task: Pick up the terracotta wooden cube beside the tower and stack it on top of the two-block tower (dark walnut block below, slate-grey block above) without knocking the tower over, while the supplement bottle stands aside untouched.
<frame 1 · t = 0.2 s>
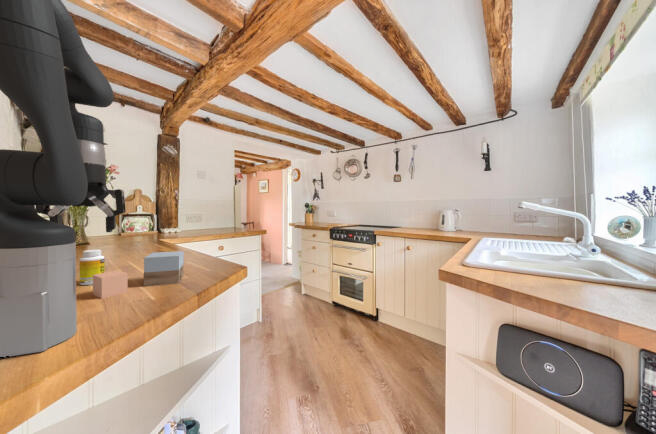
hand: (85, 232, 54), 18 cm above the countertop, tool pointing down, fingers open, 8 cm apart
supplement bottle: (92, 283, 73), on the countertop
lower block: (165, 281, 76), on the countertop, touching upper block
terracotta cube: (110, 293, 64), on the countertop
upper block: (165, 267, 76), point 4 cm above the countertop, touching lower block
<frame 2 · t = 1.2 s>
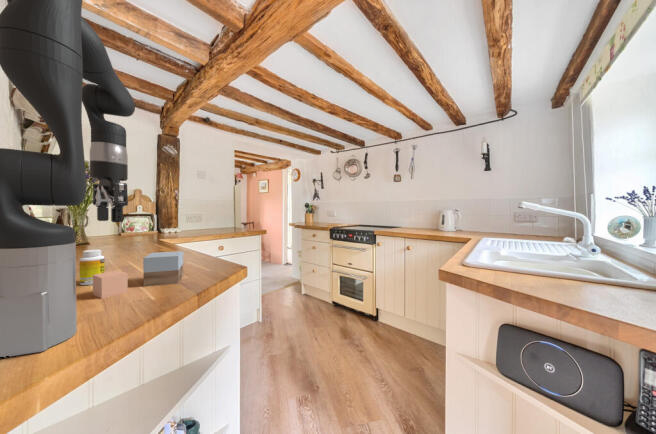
hand: (109, 221, 64), 20 cm above the countertop, tool pointing down, fingers open, 8 cm apart
nothing on the countertop moved.
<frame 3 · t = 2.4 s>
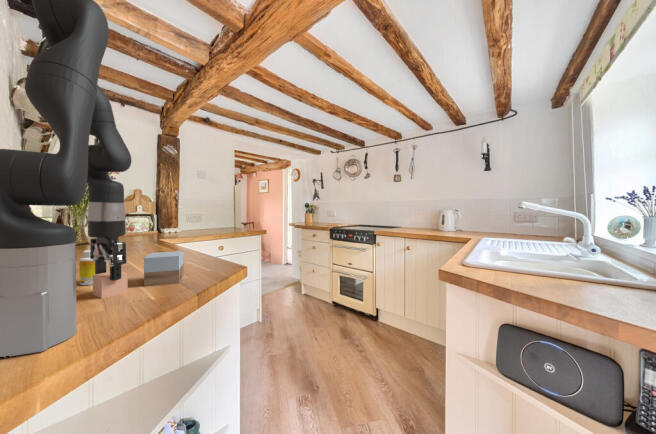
hand: (108, 277, 64), 4 cm above the countertop, tool pointing down, fingers open, 8 cm apart
lower block: (165, 281, 76), on the countertop
upper block: (165, 267, 76), point 4 cm above the countertop
everything else where it was.
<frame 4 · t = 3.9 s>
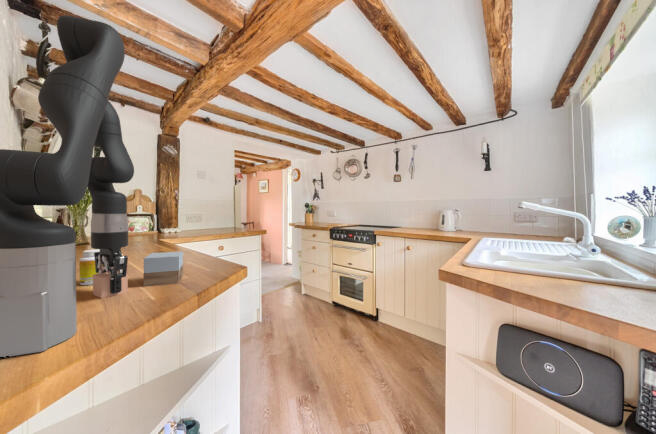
hand: (110, 290, 64), 1 cm above the countertop, tool pointing down, fingers closed on terracotta cube, 5 cm apart
lower block: (164, 281, 76), on the countertop, touching upper block
terracotta cube: (110, 293, 64), on the countertop, touching gripper
upper block: (164, 268, 76), point 4 cm above the countertop, touching lower block
everything else where it was.
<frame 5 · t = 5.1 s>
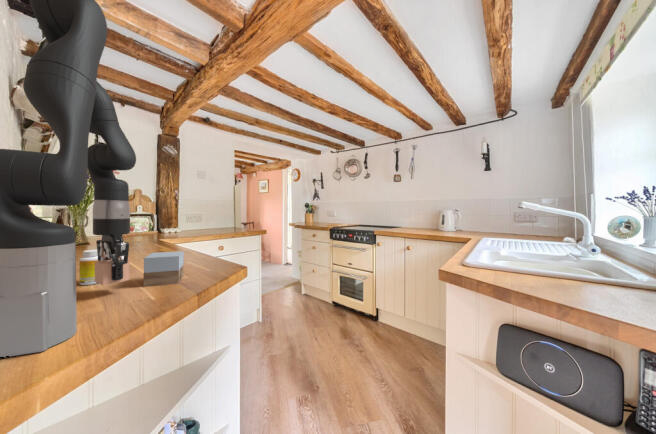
hand: (112, 278, 64), 4 cm above the countertop, tool pointing down, fingers closed on terracotta cube, 5 cm apart
lower block: (165, 281, 76), on the countertop
terracotta cube: (112, 280, 64), point 3 cm above the countertop, touching gripper
upper block: (165, 268, 76), point 4 cm above the countertop
everything else where it was.
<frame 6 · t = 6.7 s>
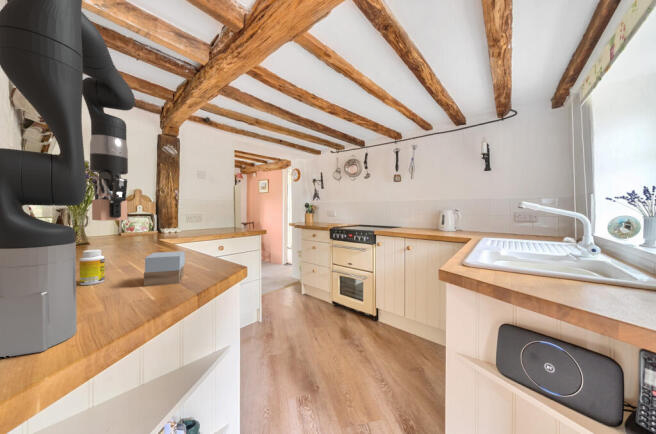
hand: (110, 217, 64), 21 cm above the countertop, tool pointing down, fingers closed on terracotta cube, 5 cm apart
lower block: (165, 281, 76), on the countertop, touching upper block
terracotta cube: (110, 219, 64), point 20 cm above the countertop, touching gripper
upper block: (166, 267, 76), point 4 cm above the countertop, touching lower block
everything else where it was.
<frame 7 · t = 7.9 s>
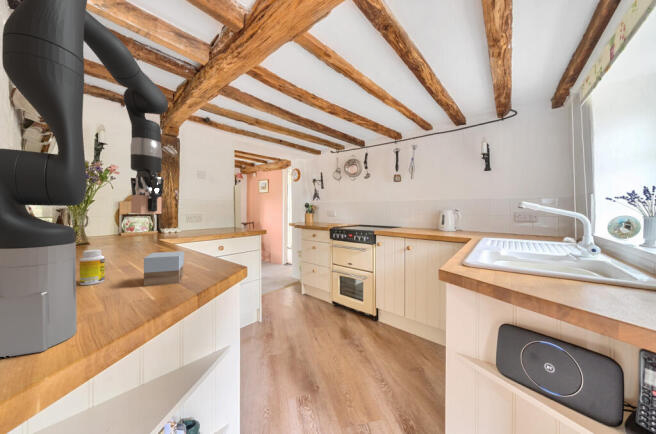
hand: (146, 210, 71), 23 cm above the countertop, tool pointing down, fingers closed on terracotta cube, 5 cm apart
lower block: (165, 281, 76), on the countertop
terracotta cube: (146, 213, 71), point 22 cm above the countertop, touching gripper
upper block: (165, 268, 76), point 4 cm above the countertop
everything else where it was.
when the fingers open (10 cm above the countertop, at t = 12.7 s): terracotta cube stays where it is, resting on upper block.
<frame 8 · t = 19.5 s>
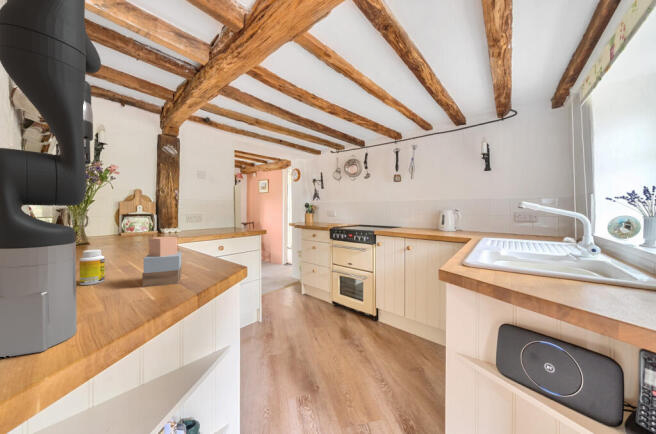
hand: (72, 182, 60), 30 cm above the countertop, tool pointing down, fingers open, 8 cm apart
lower block: (163, 282, 76), on the countertop, touching upper block
terracotta cube: (163, 254, 76), point 9 cm above the countertop, touching upper block
upper block: (164, 268, 76), point 4 cm above the countertop, touching lower block, terracotta cube
everything else where it was.
at the end: terracotta cube 0.4 cm off-centre on the upper block, point 4.5 cm above the upper block's base; terracotta cube tilted 0°; upper block 0.1 cm off-centre on the lower block, point 4.5 cm above the lower block's base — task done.
